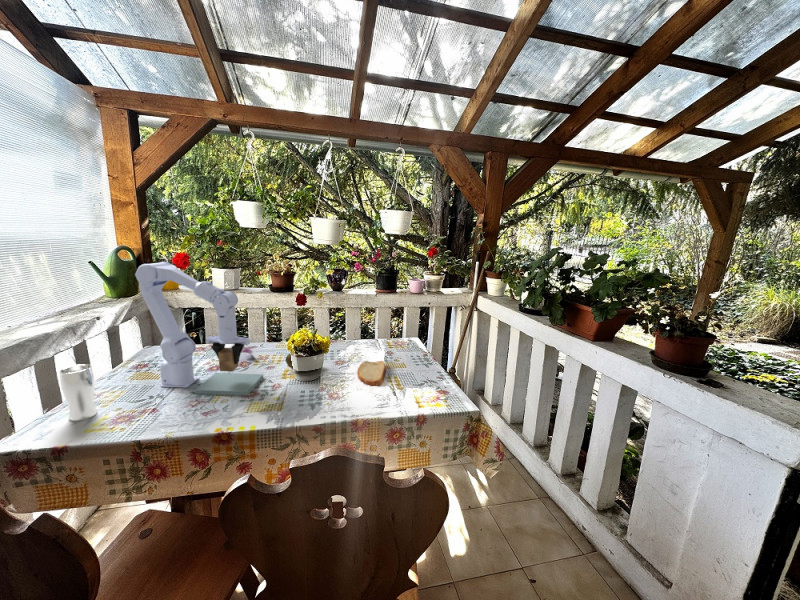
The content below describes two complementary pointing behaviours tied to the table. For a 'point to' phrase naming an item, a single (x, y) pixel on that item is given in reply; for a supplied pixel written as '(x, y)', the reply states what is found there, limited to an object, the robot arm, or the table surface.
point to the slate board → (229, 384)
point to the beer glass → (79, 391)
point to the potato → (289, 361)
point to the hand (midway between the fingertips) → (229, 362)
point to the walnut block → (227, 360)
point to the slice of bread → (372, 373)
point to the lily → (247, 350)
